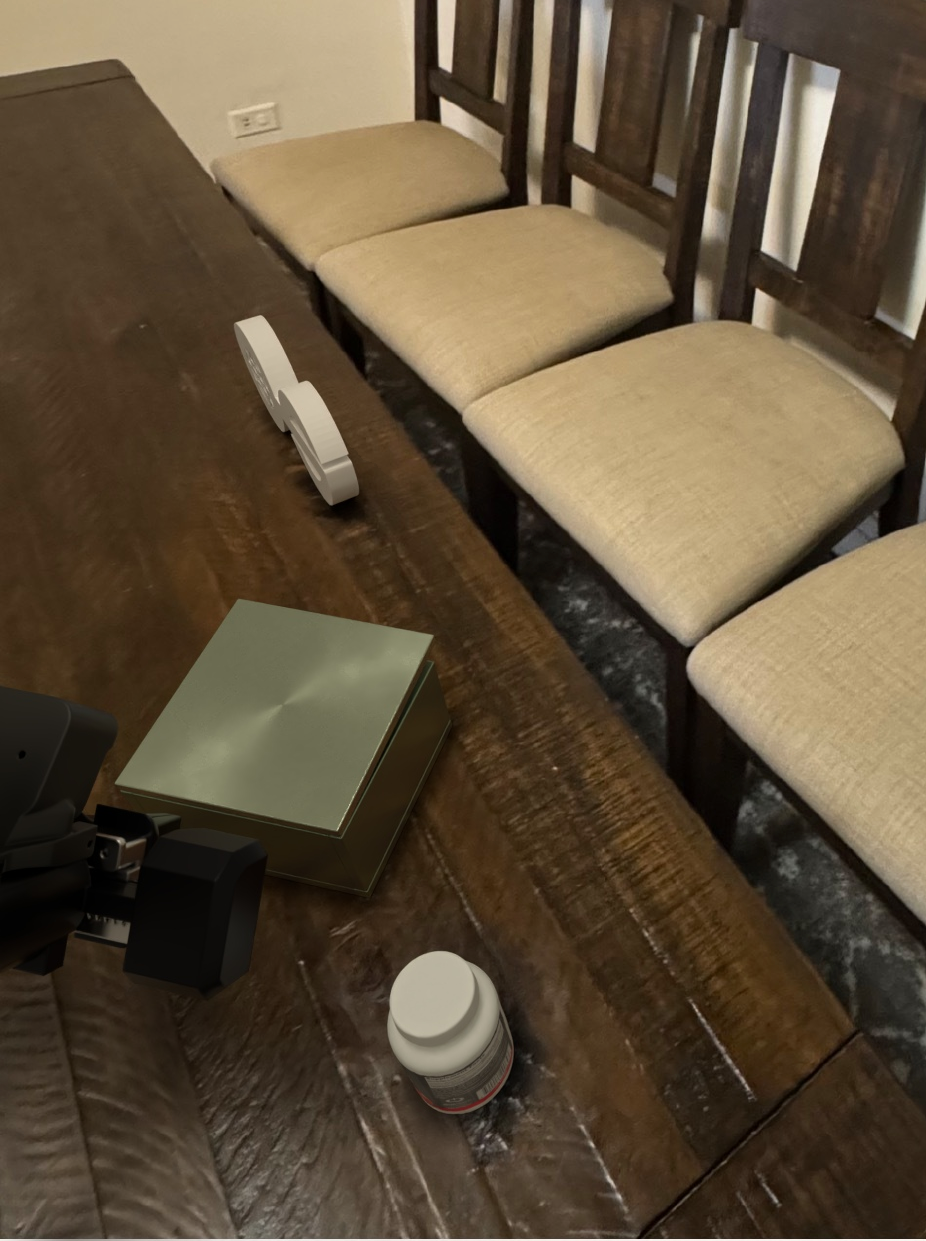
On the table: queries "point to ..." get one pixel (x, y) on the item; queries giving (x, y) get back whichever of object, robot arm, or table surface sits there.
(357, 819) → the bin
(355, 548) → the table surface
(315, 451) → the letter
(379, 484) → the table surface
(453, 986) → the pill bottle
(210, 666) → the bin lid
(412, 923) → the table surface
